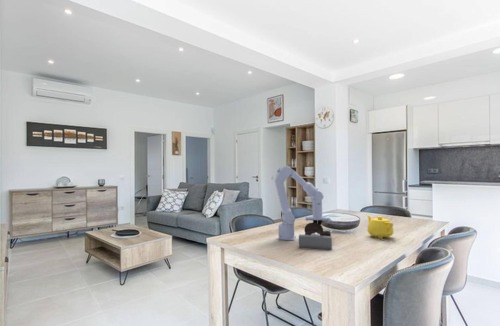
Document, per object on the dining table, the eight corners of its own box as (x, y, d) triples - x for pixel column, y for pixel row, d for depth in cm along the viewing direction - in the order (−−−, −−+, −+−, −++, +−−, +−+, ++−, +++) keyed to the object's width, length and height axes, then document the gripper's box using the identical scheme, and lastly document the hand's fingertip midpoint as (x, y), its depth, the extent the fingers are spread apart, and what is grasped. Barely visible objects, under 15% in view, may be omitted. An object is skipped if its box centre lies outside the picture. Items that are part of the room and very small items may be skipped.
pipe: (330, 231, 151) (329, 221, 165) (303, 232, 154) (303, 222, 168) (332, 248, 152) (330, 237, 166) (304, 248, 155) (305, 237, 170)
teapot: (375, 232, 180) (375, 213, 180) (401, 239, 161) (401, 218, 161) (359, 234, 175) (358, 214, 176) (383, 241, 157) (383, 220, 157)
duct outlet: (298, 247, 148) (298, 234, 148) (300, 244, 153) (299, 232, 153) (331, 249, 143) (331, 235, 143) (331, 246, 148) (331, 233, 148)
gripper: (304, 211, 168) (305, 233, 168) (329, 211, 164) (330, 234, 163) (306, 209, 175) (306, 230, 174) (329, 210, 170) (330, 232, 170)
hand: (317, 232), depth 169 cm, fingers closed, pressing on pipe
